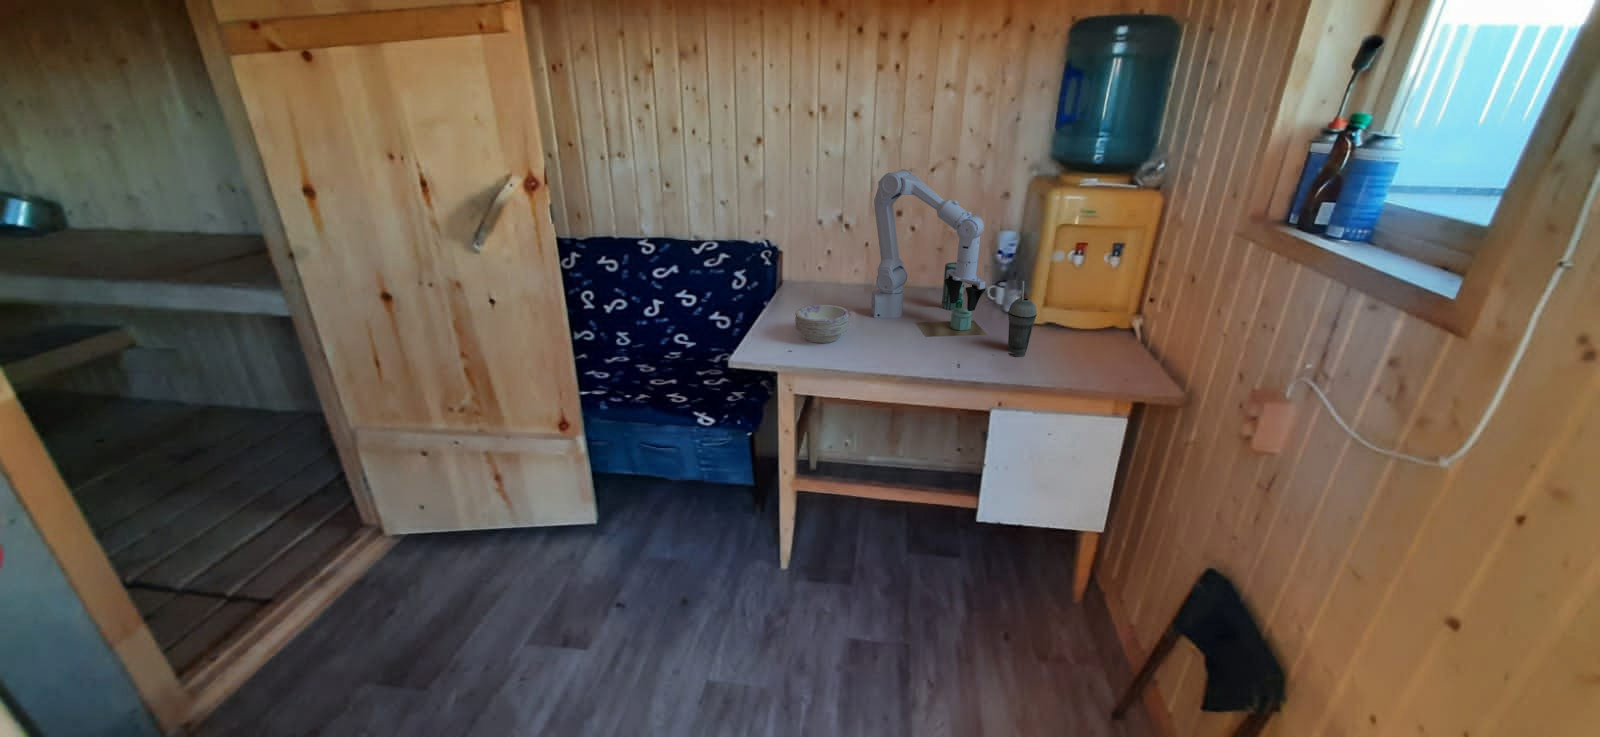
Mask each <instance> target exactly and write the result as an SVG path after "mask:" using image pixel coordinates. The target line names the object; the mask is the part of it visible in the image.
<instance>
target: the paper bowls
mask: <svg viewBox="0 0 1600 737" xmlns="http://www.w3.org/2000/svg"><path fill="white" fill-rule="evenodd" d="M794 319H795V330H796V331H797V332H798V333H800V334H802V336H803V337H804V338H805V339H806V340H807V341H809V342H812V343H815V342H816V343H817V344H827V343H833V342H836V341H838V340H839V339H840V338H841V336H842V334H845V333H846V332H848V330H849V327H850V326H849V325H850V321H849V320H850V312H849V311H848V309H846V308H844V307H842V306H838V305H834V304H833V305H831V304H814V305H809V306H808V305H806V306H803V307H800V308H798V309H797V310H796V312H795V318H794Z"/></svg>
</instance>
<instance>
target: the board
mask: <svg viewBox="0 0 1600 737" xmlns="http://www.w3.org/2000/svg"><path fill="white" fill-rule="evenodd" d="M914 323H915V324H916V326H917V327H918V328H919V330H920V331H921V332H922V334H923V336H925V337H926V338H929V337H930V338H931V337H933V338H934V337H957V336H958V337H959V336H961V337H963V336H987V335H988V333H987V332H986V331H985V330H984V329H983V328H982V327H981V326H980V325H979V324H978V323H977V322H976V321H975V320H974V319H973V320H972V319H971V328H970V329H968V330H964V331H960V330H955V329H953V328H952V327H951V326H950V325H951V320H949V321H948V320H947V321H945V320H944V321H915V322H914Z"/></svg>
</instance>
